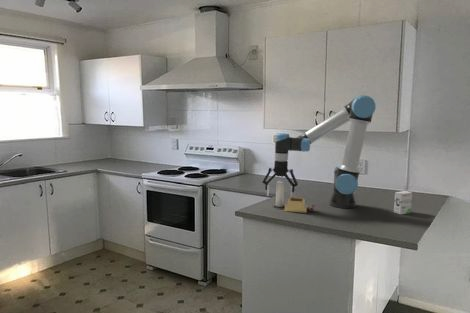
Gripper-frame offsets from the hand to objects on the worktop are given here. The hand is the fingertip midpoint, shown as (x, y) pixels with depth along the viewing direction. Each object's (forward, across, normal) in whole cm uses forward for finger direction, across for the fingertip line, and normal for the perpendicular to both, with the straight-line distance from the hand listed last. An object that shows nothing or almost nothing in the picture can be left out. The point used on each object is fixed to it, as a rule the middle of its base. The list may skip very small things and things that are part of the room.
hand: (279, 196), depth 216 cm
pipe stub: (+6, 0, 0) cm, 6 cm away
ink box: (+5, -68, -8) cm, 69 cm away
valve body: (+5, -12, +6) cm, 15 cm away
